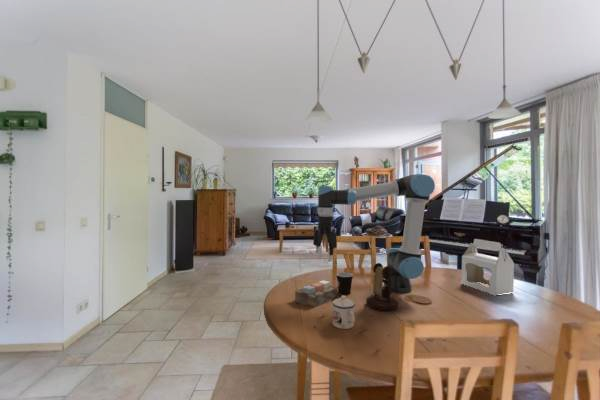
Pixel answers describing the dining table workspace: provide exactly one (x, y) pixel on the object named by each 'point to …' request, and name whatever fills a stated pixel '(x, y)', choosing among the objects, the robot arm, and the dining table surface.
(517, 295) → the dining table surface
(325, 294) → the key box
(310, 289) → the grey key
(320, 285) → the terracotta key
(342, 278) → the coffee mug
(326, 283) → the cream key
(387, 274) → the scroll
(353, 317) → the teacup with lid
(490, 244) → the gable box
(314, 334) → the dining table surface
